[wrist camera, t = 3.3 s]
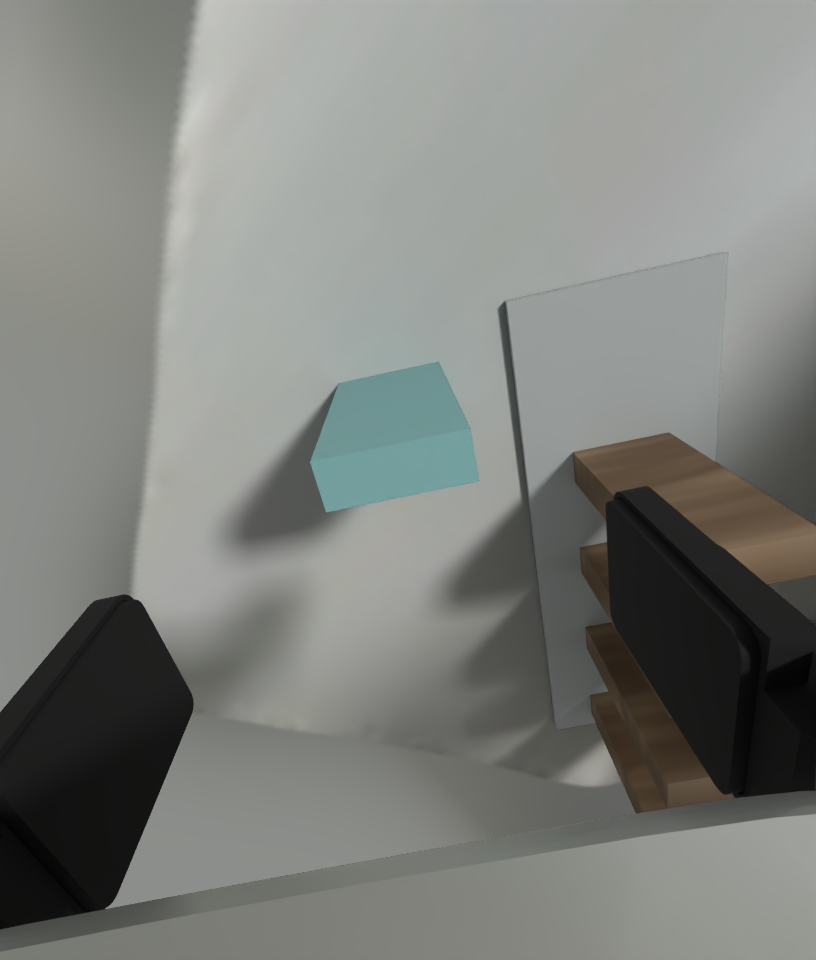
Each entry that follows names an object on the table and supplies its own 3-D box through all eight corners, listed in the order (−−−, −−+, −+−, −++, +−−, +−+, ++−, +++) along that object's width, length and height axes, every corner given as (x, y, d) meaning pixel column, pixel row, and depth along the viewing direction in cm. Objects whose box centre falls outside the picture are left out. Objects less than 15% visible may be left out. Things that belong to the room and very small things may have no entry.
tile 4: (585, 627, 31) (668, 783, 22) (665, 611, 30) (784, 764, 21) (586, 648, 31) (667, 808, 22) (665, 633, 31) (779, 790, 22)
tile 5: (590, 694, 33) (666, 860, 24) (664, 681, 33) (770, 844, 24) (591, 713, 34) (665, 880, 25) (664, 700, 34) (766, 865, 25)
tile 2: (572, 452, 26) (673, 560, 17) (669, 432, 25) (825, 531, 16) (574, 482, 26) (672, 602, 17) (668, 463, 26) (817, 575, 17)
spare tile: (338, 383, 24) (310, 462, 15) (438, 361, 24) (470, 428, 15) (348, 417, 25) (325, 512, 16) (445, 397, 25) (479, 480, 16)
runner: (504, 300, 23) (506, 301, 22) (722, 252, 22) (728, 252, 22) (554, 725, 35) (556, 730, 35) (697, 700, 34) (700, 704, 34)
